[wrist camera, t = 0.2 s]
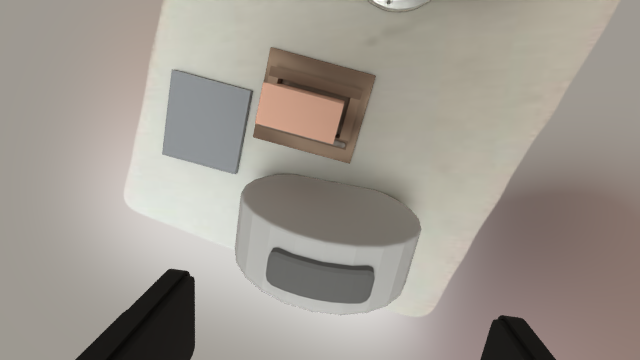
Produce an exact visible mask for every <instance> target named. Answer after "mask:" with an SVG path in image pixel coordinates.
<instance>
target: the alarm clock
mask: <svg viewBox="0 0 640 360" xmlns="http://www.w3.org/2000/svg"><path fill="white" fill-rule="evenodd" d="M420 232H421V226H420V222H419V219H418V218H417V216H416V215H415V214H414V213H413V212H412V210H410V209H409V208H408V207H406V206H405V205H404V204H402V203H401V202H399V201H398V200H396V199H394V198H392V197H390V196H388V195H386V194H384V193H381V192H379V191H377V190H372V189H367V188H362V187H357V186H352V185H347V184H342V183H336V182H331V181H326V180H321V179H316V178H311V177H305V176H300V175H295V174H281V175H273V176H266V177H263V178H259V179H256V180H254V181H252V182H251V183H249V184H247V185H246V186H245V188H244V190H243V191H242V193H241V198H240V207H239V216H238V225H237V234H236V243H235V255H236V262H237V264H238V266H239V267H240V269H241V271H242V272H243V274H244V276H245V277H246V278H247V279H248V280H249V281H250V282H252V283H253V284H254V285H255V286H256V287H258V288H259V289H260V290H261V291H262V292H264V293H266V294H268V295H270V296H272V297H274V298H276V299H277V300H280V301H281V302H283V303H286V304H289V305H292V306H295V307H299V308H302V309H305V310H309V311H312V312H320V313H329V314H338V315H345V314H357V313H367V312H370V311H373V310H376V309H379V308H382V307H385V306H387V305H388V304H390V303H391V302H392V301H393V300H395V299H396V298H397V297H398V296H400V294H401V292H402V290H403V287H404V285H405V283H406V279H407V276H408V272H409V269H410V266H411V262H412V259H413V256H414V252H415V249H416V246H417V242H418V239H419V235H420Z"/></svg>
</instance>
